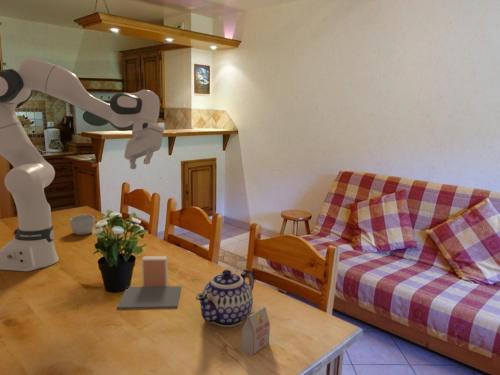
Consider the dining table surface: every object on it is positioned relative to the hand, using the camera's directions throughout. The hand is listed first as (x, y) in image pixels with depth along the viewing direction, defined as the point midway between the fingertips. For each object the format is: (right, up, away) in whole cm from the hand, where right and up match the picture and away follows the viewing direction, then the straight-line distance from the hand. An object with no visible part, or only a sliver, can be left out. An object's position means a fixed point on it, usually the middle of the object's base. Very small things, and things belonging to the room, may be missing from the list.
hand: (139, 166), depth 144 cm
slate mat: (+9, -43, -18) cm, 48 cm away
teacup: (-40, -30, +47) cm, 69 cm away
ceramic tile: (+8, -42, -8) cm, 43 cm away
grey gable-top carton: (+42, -49, -43) cm, 78 cm away
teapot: (+34, -46, -29) cm, 64 cm away
